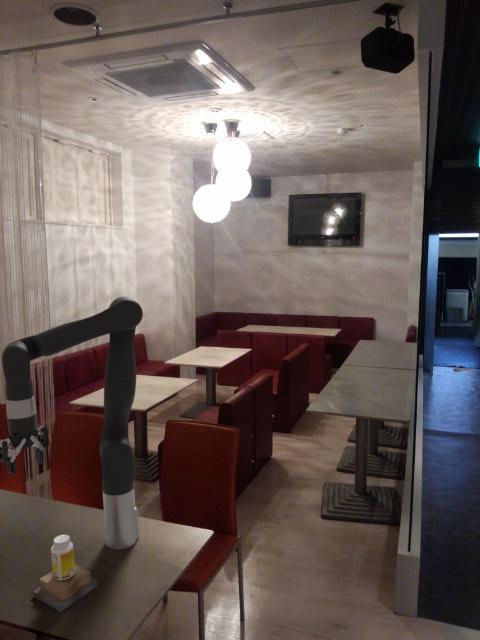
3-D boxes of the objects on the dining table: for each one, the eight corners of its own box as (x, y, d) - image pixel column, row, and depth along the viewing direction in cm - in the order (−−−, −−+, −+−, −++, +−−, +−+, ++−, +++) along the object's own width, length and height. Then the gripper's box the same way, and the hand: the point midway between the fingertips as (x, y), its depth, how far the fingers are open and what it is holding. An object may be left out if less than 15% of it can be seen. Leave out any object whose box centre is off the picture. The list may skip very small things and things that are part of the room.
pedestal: (71, 571, 143) (70, 556, 142) (98, 585, 137) (97, 569, 136) (33, 596, 133) (32, 580, 132) (60, 612, 127) (59, 595, 126)
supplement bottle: (79, 568, 137) (76, 533, 135) (69, 582, 131) (66, 545, 130) (59, 567, 137) (56, 532, 136) (49, 581, 132) (46, 544, 130)
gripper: (35, 404, 150) (40, 456, 153) (-11, 418, 139) (-5, 474, 141) (51, 408, 146) (56, 462, 149) (5, 422, 134) (11, 481, 137)
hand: (26, 468), depth 145 cm, fingers open, 8 cm apart
